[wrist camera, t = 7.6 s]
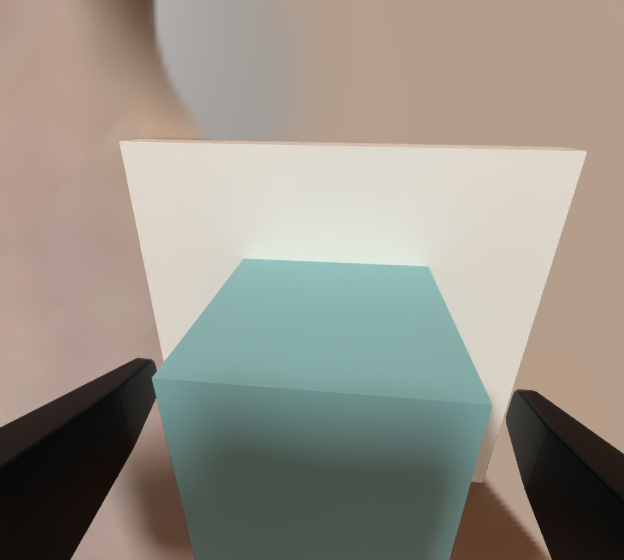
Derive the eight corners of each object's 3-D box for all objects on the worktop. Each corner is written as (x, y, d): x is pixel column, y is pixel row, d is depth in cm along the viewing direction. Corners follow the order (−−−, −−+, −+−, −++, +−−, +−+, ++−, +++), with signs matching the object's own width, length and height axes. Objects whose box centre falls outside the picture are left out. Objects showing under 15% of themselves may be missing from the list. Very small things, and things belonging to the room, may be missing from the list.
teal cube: (407, 409, 12) (438, 596, 7) (255, 396, 12) (195, 564, 8) (428, 266, 10) (493, 404, 5) (243, 258, 10) (151, 377, 6)
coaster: (474, 458, 14) (482, 482, 13) (192, 429, 15) (181, 450, 14) (563, 147, 9) (587, 151, 8) (140, 138, 10) (119, 141, 9)
